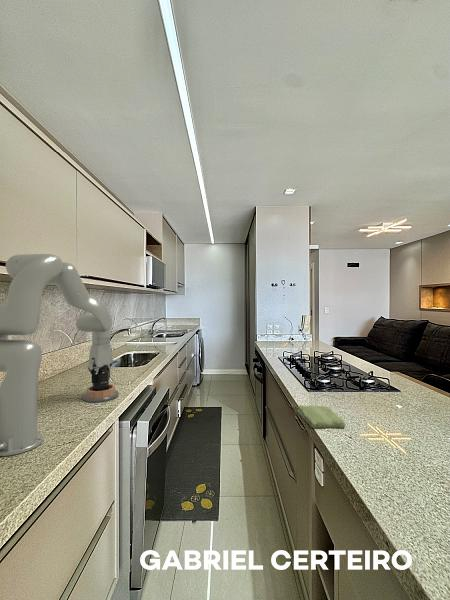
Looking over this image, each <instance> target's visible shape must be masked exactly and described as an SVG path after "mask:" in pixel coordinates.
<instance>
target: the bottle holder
mask: <svg viewBox="0 0 450 600" xmlns="http://www.w3.org/2000/svg"><path fill="white" fill-rule="evenodd" d="M92 387H93V385H91V386H89V387H87V388H86V389H85V393H84V394H83V395H82V401H83V402H85V403H90V404H91V403H92V404H97V403H99V404H100V403H105V402H109V401H113V400H115V399H117V398H118V397H119V393H120V392H119V391H118V390H116V385H115V384H111V383H109V389H108V390H104V391H92Z"/></svg>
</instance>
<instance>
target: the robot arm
mask: <svg viewBox="0 0 450 600" xmlns="http://www.w3.org/2000/svg"><path fill="white" fill-rule="evenodd" d="M5 270H6V272H7V274H8V275H9V276H10V277H11V278H12V280H11V282H10V284H9V288H8V292H7V293H8V294H7V299H6V303H0V372H3V373H4V372H5V375H4V377H3V379H2V380H1V383H0V457H9V456H14V455H19V454H23V453H26V452H29V451H31V450H33V449H35V448H37V447H38V446H40V445H41V444H42V443H43V442H44V435H43V434H42V433H41V432H38V415H39V414H38V413H39V411H38V409H39V408H38V405H39V404H38V403H39V401H38V400H39V398H38V395H39V391H38V390H39V386H38V385H39V371H40V366H41V364H42V363H41V362H42V359H43V350H42V348H41V346H40V345H39V344H38V343H37V342H35V341H32V340H28V339H8V337H9V336H27V335H31V334H32V335H33V334H34V333H35V332H37V330H38V327H39V324H40V318H41V317H40V316H41V315H40V314H41V304H42V297H43V291H44V288H46V286H56V287H57V289H58V291H60V293H61V295H62V297H63V298H64V301H65V302H66V303H67V304H68V305H69V306H71V307H74V308H76V309H79V310H82V311H85V312H87V313H88V314H87V313H85V314H82V315H80V316H78V317H77V318H76V321H75V327H76V329H78V330H79V331H80V332H83V333H85V332H86V333H92V335H91V336H92V339H91V346H90V349H89V353H88V354H89V355H88V356H89V358H88V365H87V367H86V368H87V369H88V371H89V372H90V375H91V384H93V383H99V374H98V371H99V368H100V367H103V365H107V369H106V370H108V371H109V380H110V378H111V377H110V376H111V375H110V374H111V370H112V369H111V367H112V365H113V363H114V359H113V357H112V355H113V354H112V346H111V329H112V327H113V319H112V318H113V317H112V315H111V313H110V311H109V309H108V308H107V306H106V305H105V304H104V303H103V302H102V301H101V300H99V299H98V298H97V297H95V296H94V295H92V294H91V293H90V292H88V290H87V287H86V285H85V284H84V282H83V280H82V278H81V276H80V275H79V272H78V269H76V266H74V264H72V263H70V262H64V261H62V259H61V257H59V256H58V255H56V254H53V253H52V254H51V253H33V254H32V253H31V254H30V253H27V254H15V255H11V256H10V257H9V258H8V259H7V260H6V262H5ZM95 366H96V367H95ZM95 370H96V371H95Z"/></svg>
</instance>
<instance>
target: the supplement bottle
mask: <svg viewBox="0 0 450 600" xmlns="http://www.w3.org/2000/svg"><path fill="white" fill-rule="evenodd" d="M95 367H96V366H95ZM106 369H107V365H103V367H100V368H99V371H98V374H99V383H92V386H93V387H92V391H104V390H108V389H109V384H110V379H109V371H108V370H106ZM95 371H96V369H95Z"/></svg>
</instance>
